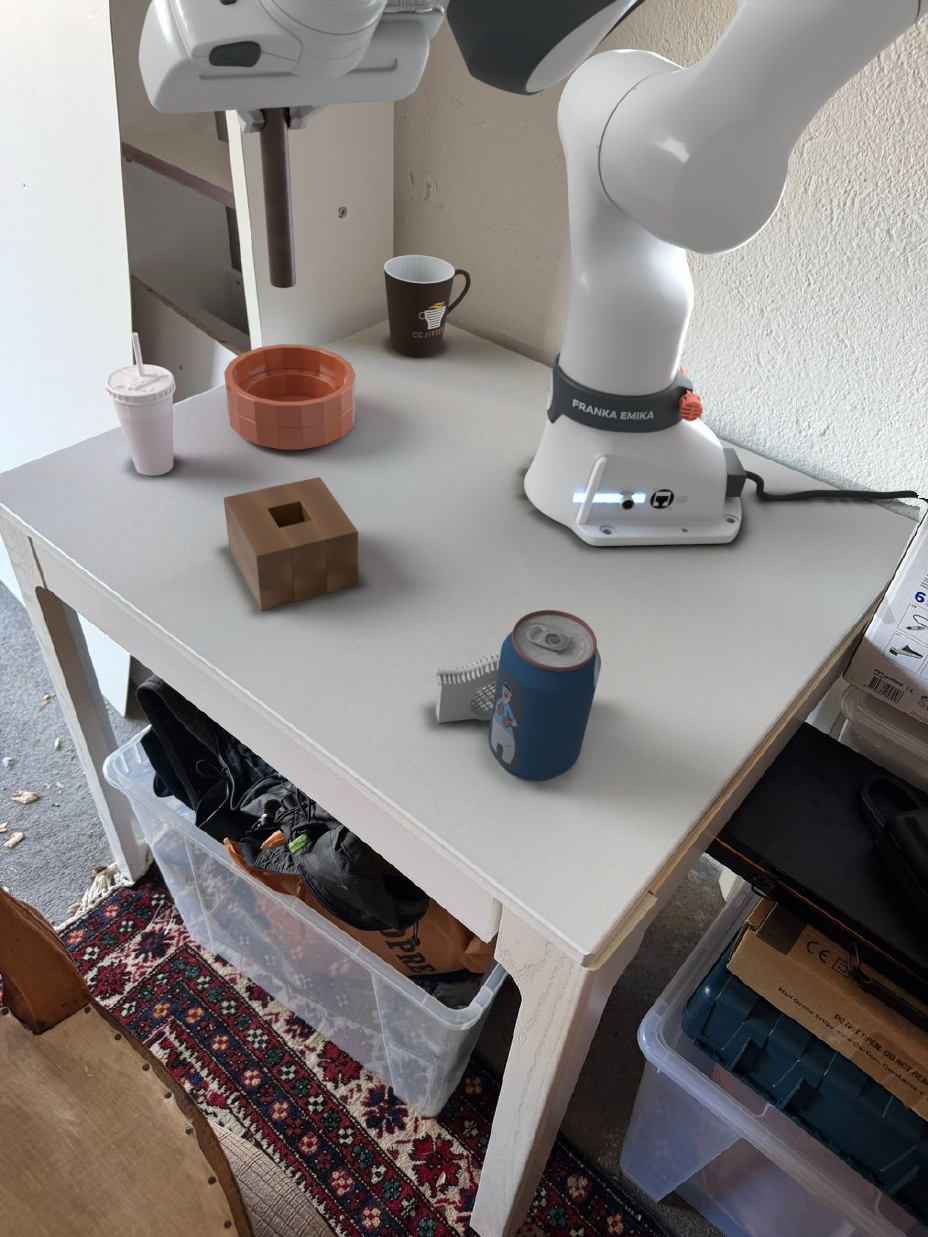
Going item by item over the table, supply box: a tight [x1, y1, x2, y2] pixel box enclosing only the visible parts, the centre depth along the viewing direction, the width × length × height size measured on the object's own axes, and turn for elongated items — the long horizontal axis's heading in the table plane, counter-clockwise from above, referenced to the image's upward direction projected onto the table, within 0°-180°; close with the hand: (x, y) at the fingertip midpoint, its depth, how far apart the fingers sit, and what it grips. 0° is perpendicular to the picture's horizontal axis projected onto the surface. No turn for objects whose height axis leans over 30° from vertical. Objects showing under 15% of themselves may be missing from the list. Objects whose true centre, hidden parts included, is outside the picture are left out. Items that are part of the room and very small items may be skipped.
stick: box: [258, 107, 297, 289], centre depth 73 cm, size 2×2×22 cm
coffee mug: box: [383, 254, 472, 358], centre depth 116 cm, size 12×9×10 cm
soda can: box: [488, 609, 602, 783], centre depth 66 cm, size 7×7×12 cm
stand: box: [223, 476, 359, 611], centre depth 82 cm, size 9×9×6 cm
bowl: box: [223, 343, 357, 451], centre depth 101 cm, size 14×14×6 cm
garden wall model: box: [434, 653, 501, 724], centre depth 71 cm, size 12×2×6 cm, turn 102°
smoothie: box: [104, 332, 177, 477], centre depth 90 cm, size 6×6×14 cm
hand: (270, 122), depth 72 cm, fingers closed on stick, 2 cm apart
